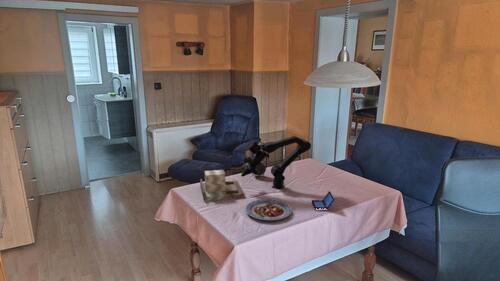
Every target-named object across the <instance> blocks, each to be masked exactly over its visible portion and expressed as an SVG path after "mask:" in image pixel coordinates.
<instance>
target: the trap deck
mask: <svg viewBox="0 0 500 281" xmlns="http://www.w3.org/2000/svg"><path fill="white" fill-rule="evenodd" d="M199 181H200V183H199V184H200V190H201V191H200V192H201V196H202V199H203V201H204V202H205V201H206V202H207V201H218V200H227V199H228V200H229V199H238V198H239V199H240V198H244V197H245V192H244V190H243V189H242V187H241V185H240V183H239V181H238V180H225V191H213V192H206V189H205V182H203V179H202V178H200V180H199Z"/></svg>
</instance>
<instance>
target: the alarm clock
mask: <svg viewBox="0 0 500 281" xmlns="http://www.w3.org/2000/svg"><path fill="white" fill-rule="evenodd" d="M256 168H257V171H258V174H257V175H256V176H257V178H259V177H261V176H265V173H266V172H267V164H266V162H264V160H263V161H262V162H261V164H259V165H258V166H257V167H256ZM252 175H253V176H255V174H254V173H252Z"/></svg>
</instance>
